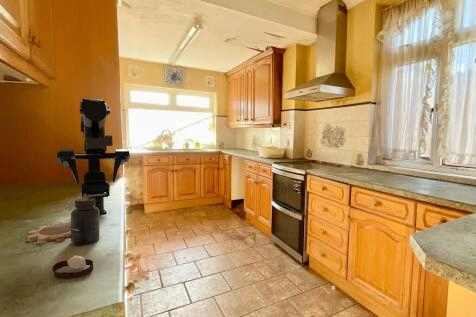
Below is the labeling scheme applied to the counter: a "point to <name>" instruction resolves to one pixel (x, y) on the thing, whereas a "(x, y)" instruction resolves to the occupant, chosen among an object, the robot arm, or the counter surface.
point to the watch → (75, 263)
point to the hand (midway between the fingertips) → (96, 183)
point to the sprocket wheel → (50, 232)
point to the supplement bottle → (85, 222)
